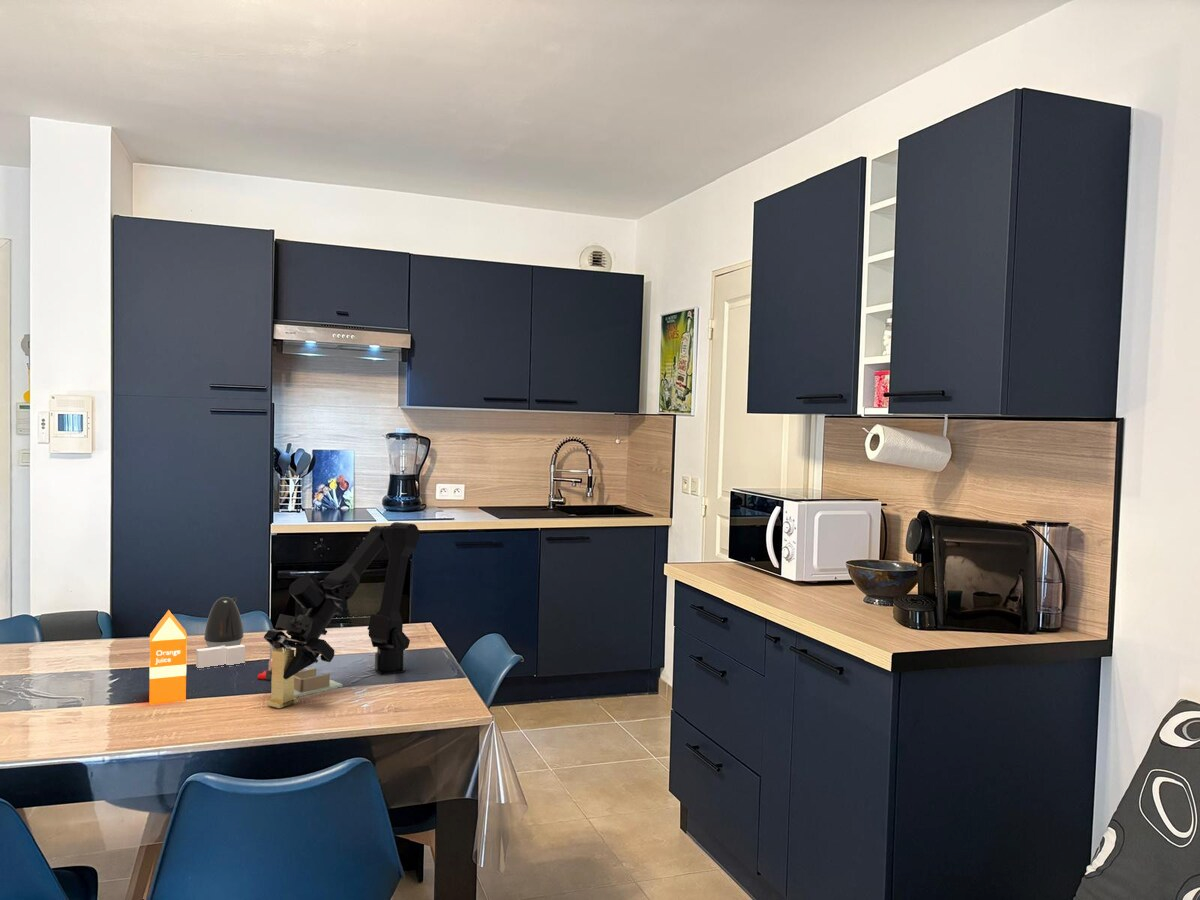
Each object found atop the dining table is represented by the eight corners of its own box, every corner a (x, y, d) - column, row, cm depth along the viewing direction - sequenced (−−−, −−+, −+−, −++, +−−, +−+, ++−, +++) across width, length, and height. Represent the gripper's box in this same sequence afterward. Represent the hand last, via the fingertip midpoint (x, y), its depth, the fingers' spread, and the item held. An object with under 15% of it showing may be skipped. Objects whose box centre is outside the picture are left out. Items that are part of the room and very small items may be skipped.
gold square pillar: (285, 699, 202) (286, 646, 201) (297, 702, 200) (297, 648, 199) (267, 705, 197) (268, 651, 197) (279, 708, 195) (280, 653, 195)
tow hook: (273, 671, 227) (253, 679, 218) (275, 622, 227) (256, 628, 218) (302, 673, 226) (284, 682, 217) (305, 624, 226) (287, 630, 217)
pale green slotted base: (323, 679, 220) (324, 665, 220) (342, 686, 214) (342, 672, 214) (275, 689, 210) (275, 674, 210) (293, 697, 204) (293, 682, 204)
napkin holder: (184, 673, 224) (184, 651, 223) (204, 661, 235) (205, 640, 235) (241, 674, 223) (241, 653, 223) (259, 663, 235) (259, 642, 235)
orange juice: (148, 705, 197) (149, 618, 196) (148, 694, 204) (149, 610, 204) (186, 700, 200) (187, 615, 200) (185, 690, 208) (186, 608, 208)
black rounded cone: (251, 647, 249) (252, 595, 249) (227, 656, 239) (228, 601, 238) (220, 644, 251) (221, 592, 251) (196, 653, 241) (196, 599, 241)
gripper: (270, 595, 206) (230, 651, 197) (325, 605, 197) (285, 664, 187) (296, 622, 213) (258, 677, 204) (351, 632, 204) (313, 690, 195)
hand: (277, 676), depth 197 cm, fingers closed on gold square pillar, 4 cm apart
